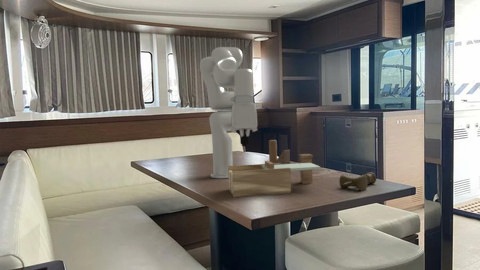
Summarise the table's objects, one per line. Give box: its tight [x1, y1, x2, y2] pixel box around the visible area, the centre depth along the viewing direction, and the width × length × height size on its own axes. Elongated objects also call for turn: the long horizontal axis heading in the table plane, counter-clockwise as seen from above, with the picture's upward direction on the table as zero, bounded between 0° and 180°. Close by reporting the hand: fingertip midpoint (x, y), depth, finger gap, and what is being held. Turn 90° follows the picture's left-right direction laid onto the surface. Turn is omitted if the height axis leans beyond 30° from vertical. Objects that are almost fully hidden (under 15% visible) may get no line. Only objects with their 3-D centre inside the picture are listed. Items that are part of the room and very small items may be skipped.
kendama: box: [338, 171, 377, 192], centre depth 145 cm, size 6×10×20 cm
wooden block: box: [268, 139, 291, 164], centre depth 164 cm, size 4×11×18 cm, turn 40°
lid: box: [262, 160, 321, 172], centre depth 146 cm, size 11×21×3 cm, turn 99°
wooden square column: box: [298, 153, 314, 185], centre depth 158 cm, size 5×5×12 cm
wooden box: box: [228, 163, 292, 198], centre depth 144 cm, size 14×22×10 cm, turn 99°
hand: (244, 145), depth 148 cm, fingers closed
